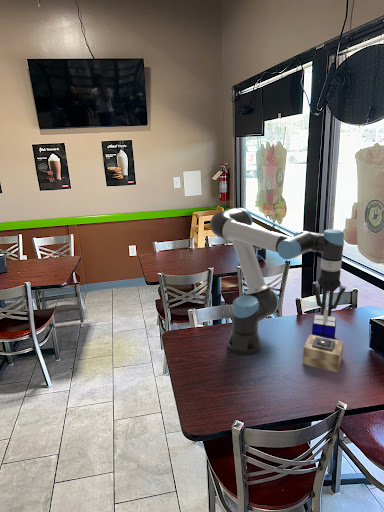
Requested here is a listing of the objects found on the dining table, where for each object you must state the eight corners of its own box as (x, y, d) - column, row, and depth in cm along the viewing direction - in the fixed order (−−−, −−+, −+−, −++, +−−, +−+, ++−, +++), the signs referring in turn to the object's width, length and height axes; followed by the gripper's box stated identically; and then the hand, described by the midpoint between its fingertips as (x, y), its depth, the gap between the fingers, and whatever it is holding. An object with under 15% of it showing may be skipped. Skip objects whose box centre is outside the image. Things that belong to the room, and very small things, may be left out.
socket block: (302, 363, 152) (303, 345, 149) (308, 350, 162) (309, 333, 159) (337, 372, 145) (339, 354, 143) (341, 357, 155) (343, 340, 153)
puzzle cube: (311, 342, 168) (312, 323, 165) (312, 332, 177) (314, 314, 174) (333, 346, 164) (335, 326, 162) (334, 335, 173) (336, 317, 170)
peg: (316, 359, 152) (317, 343, 150) (318, 354, 156) (319, 338, 154) (326, 362, 150) (328, 345, 148) (328, 357, 154) (330, 340, 152)
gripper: (311, 269, 141) (307, 322, 148) (347, 274, 135) (340, 329, 142) (315, 263, 147) (311, 315, 154) (349, 268, 141) (343, 321, 148)
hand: (325, 322), depth 148 cm, fingers closed
